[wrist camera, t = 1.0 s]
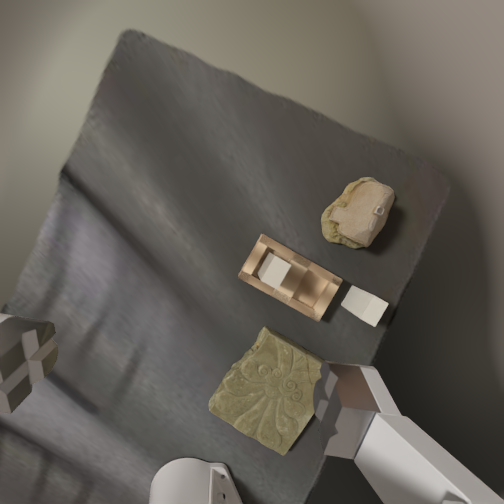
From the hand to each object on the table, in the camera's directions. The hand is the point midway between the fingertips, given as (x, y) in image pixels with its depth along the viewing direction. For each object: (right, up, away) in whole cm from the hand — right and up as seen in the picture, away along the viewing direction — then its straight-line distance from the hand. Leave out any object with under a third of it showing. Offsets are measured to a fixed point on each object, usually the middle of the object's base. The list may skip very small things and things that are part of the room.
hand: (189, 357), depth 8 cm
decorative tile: (+6, -23, +46) cm, 52 cm away
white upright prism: (+5, +1, +42) cm, 42 cm away
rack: (+9, -1, +44) cm, 45 cm away
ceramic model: (+22, +11, +44) cm, 50 cm away
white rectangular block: (+22, -6, +45) cm, 50 cm away
